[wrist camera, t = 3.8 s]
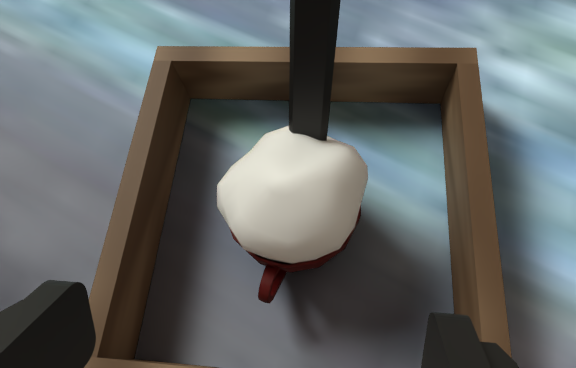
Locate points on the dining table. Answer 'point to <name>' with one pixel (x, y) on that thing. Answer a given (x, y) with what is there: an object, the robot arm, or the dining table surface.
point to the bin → (275, 86)
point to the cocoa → (298, 166)
